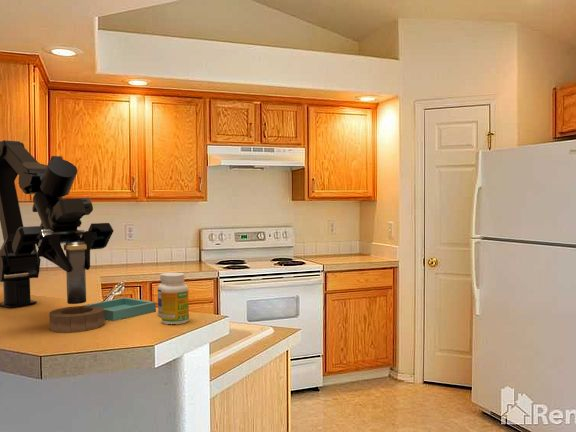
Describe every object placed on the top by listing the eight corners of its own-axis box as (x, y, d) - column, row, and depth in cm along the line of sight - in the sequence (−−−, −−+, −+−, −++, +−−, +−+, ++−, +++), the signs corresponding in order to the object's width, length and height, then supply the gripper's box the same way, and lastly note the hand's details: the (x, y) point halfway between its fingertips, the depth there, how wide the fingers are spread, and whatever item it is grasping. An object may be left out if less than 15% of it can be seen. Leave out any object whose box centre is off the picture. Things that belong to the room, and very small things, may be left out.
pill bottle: (186, 312, 115) (185, 271, 115) (179, 317, 110) (178, 275, 110) (162, 311, 116) (161, 271, 115) (154, 317, 111) (153, 275, 110)
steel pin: (61, 302, 103) (59, 242, 103) (80, 299, 107) (78, 240, 106) (73, 305, 101) (71, 243, 100) (92, 301, 104) (90, 241, 104)
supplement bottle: (180, 326, 103) (179, 276, 102) (156, 324, 104) (155, 275, 104) (193, 319, 108) (192, 272, 107) (170, 318, 110) (169, 271, 109)
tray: (82, 314, 114) (82, 305, 114) (125, 305, 123) (125, 297, 123) (113, 320, 108) (113, 311, 108) (155, 311, 117) (155, 302, 116)
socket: (39, 327, 103) (39, 312, 103) (85, 317, 111) (85, 303, 111) (68, 335, 97) (67, 318, 97) (114, 324, 105) (114, 309, 105)
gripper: (15, 184, 99) (40, 246, 92) (108, 185, 112) (136, 238, 105) (2, 225, 105) (25, 285, 97) (91, 221, 118) (117, 274, 111)
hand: (79, 269), depth 103 cm, fingers closed on steel pin, 3 cm apart
